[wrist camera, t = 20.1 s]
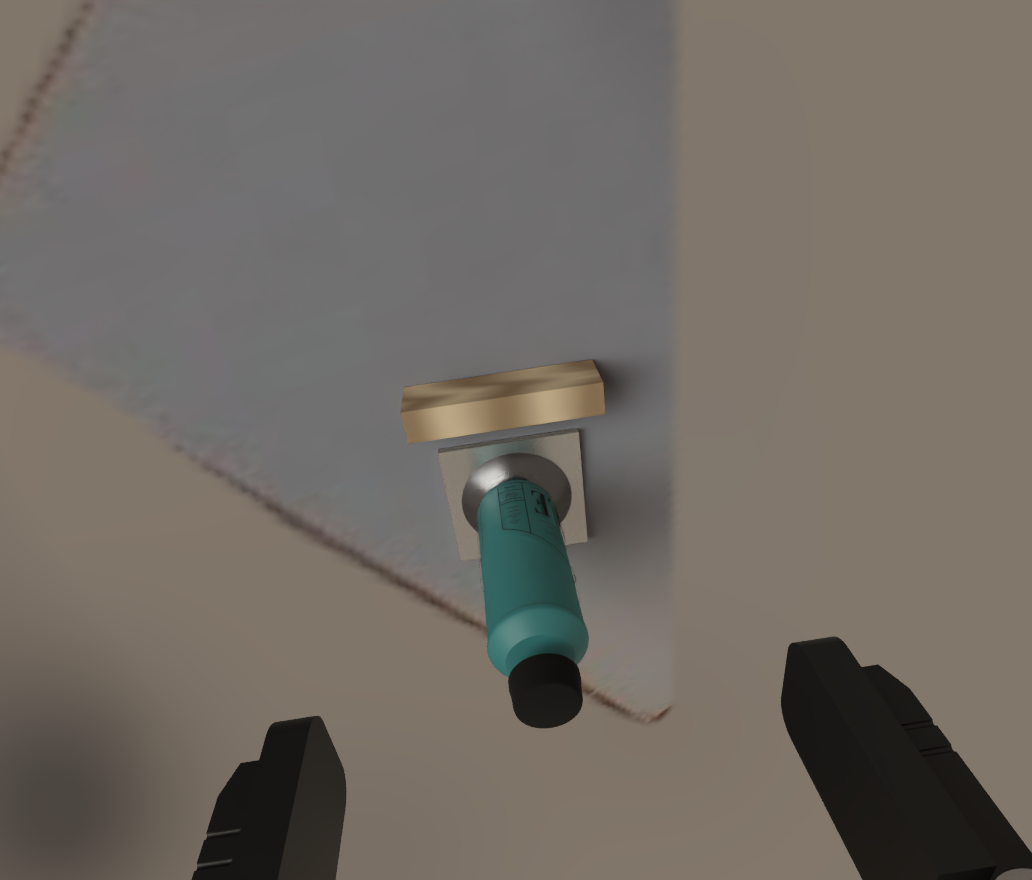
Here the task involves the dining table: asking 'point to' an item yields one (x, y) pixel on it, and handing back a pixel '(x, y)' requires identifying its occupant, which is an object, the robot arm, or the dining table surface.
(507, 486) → the beverage bottle
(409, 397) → the sill
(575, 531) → the plate
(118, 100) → the dining table surface
